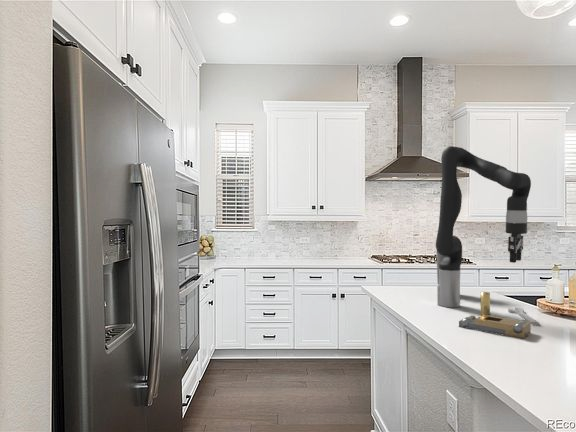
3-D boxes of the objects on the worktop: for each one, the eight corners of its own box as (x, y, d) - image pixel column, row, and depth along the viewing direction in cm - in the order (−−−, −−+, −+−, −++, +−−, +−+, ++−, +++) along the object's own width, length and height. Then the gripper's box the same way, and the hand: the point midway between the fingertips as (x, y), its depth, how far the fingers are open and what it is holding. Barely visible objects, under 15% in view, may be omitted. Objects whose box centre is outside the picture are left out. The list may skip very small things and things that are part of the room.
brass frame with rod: (458, 326, 146) (458, 315, 146) (467, 321, 153) (467, 310, 153) (524, 339, 131) (524, 326, 131) (530, 332, 138) (530, 320, 138)
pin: (479, 319, 157) (479, 292, 157) (482, 317, 160) (482, 291, 160) (488, 320, 155) (488, 293, 155) (491, 319, 157) (491, 292, 157)
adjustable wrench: (541, 327, 147) (541, 322, 147) (522, 326, 149) (522, 321, 149) (521, 311, 171) (521, 307, 171) (505, 310, 173) (505, 306, 173)
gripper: (510, 221, 162) (509, 259, 163) (501, 221, 152) (500, 262, 152) (530, 221, 157) (529, 260, 158) (523, 222, 147) (522, 264, 147)
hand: (515, 261), depth 155 cm, fingers open, 8 cm apart
